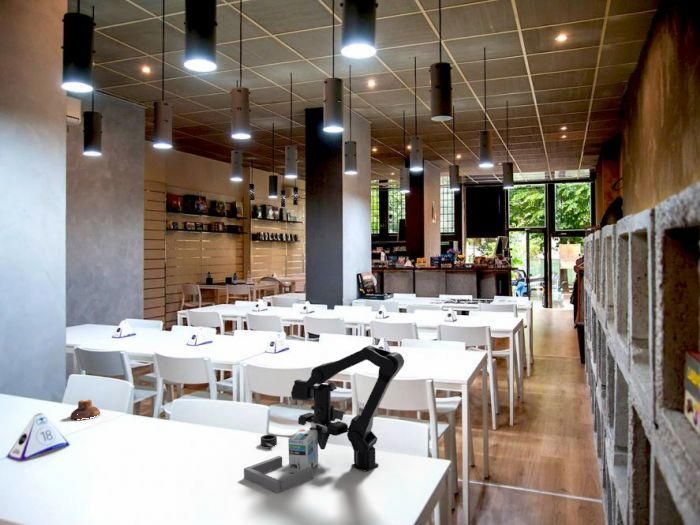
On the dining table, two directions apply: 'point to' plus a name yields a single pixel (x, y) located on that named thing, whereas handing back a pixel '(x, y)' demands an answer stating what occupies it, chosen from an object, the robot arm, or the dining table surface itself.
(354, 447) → the robot arm
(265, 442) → the duct tape
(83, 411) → the brown fuzzy lump
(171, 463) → the dining table surface
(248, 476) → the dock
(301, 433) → the light bulb box
